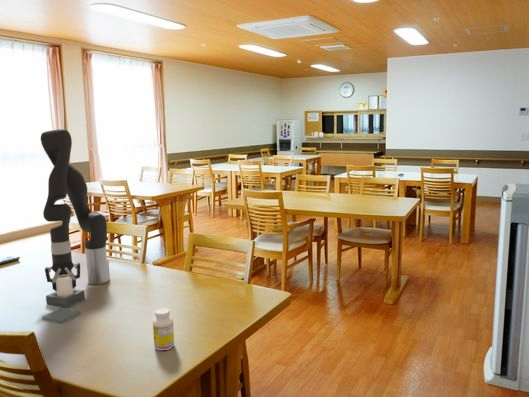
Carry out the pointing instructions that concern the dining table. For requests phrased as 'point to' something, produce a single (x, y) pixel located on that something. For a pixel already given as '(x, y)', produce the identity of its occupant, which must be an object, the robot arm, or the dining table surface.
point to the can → (64, 285)
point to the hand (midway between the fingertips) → (64, 289)
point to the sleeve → (65, 299)
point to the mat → (61, 315)
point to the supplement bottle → (163, 330)
